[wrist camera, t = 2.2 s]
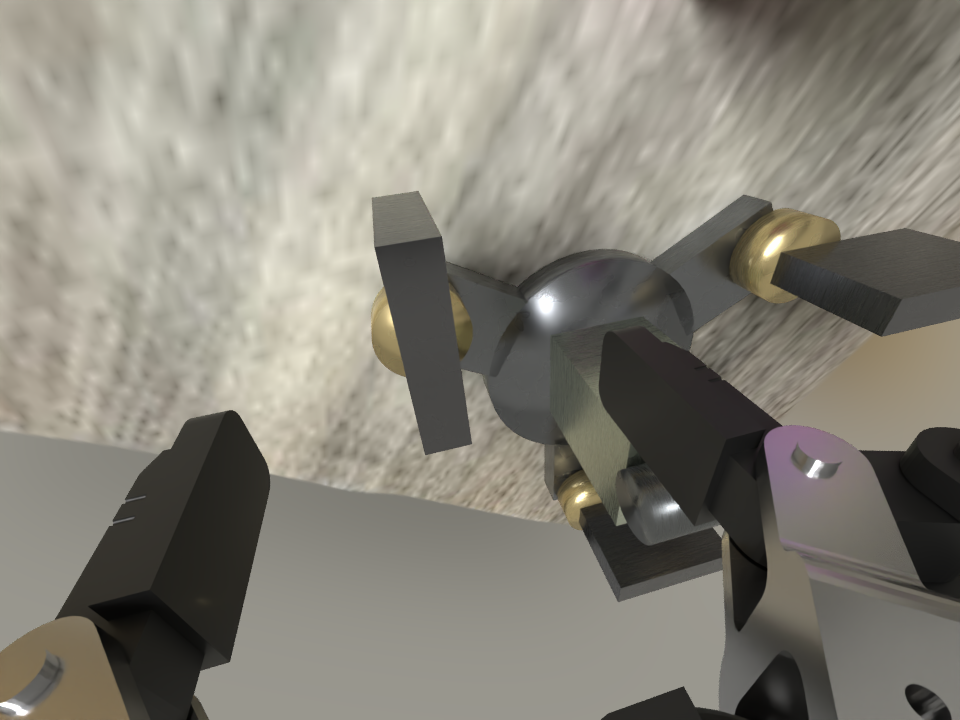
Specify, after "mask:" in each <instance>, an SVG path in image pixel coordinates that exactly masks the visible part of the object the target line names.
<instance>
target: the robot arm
mask: <svg viewBox="0 0 960 720" xmlns="http://www.w3.org/2000/svg"><path fill="white" fill-rule="evenodd" d="M599 395H600V399H601V402H602V404H603V406H604V408H605V410H606V411H607V413H608V414H609V415H610V417H611V418H612V419H613V421H614V422H615V423H616V424H617V426H618V427H619V428H620V430H621V431H622V432H623V434H624V435H625V436H626V438H627V439H628V440H629V441H630V443H631V444H632V445H633V447H634V448H635V449H636V451H637V452H638V453H639V455H640V456H641V457H642V459H643V460H644V461H645V462H646V464H647V465H648V466H649V468H650V469H651V470H652V472H653V473H654V474H655V476H656V477H657V478H658V479H659V481H660V482H661V483H662V485H663V486H664V487H665V489H666V490H667V491H668V493H669V494H670V495H671V496H672V498H673V499H674V500H675V502H676V503H677V504H678V506H679V507H680V508H681V510H682V511H683V512H684V513H685V515H686V516H687V517H688V519H689V520H690V521H691V523H692V524H693V525H694V526H698V525H701V524H705V523H708V522H711V521H715V520H717V521H718V522H719V523H720V525H721V526H722V527H723V528H724V529H725V530H724V532H723V535H722V564H723V587H724V609H725V633H726V635H725V636H726V637H725V638H726V639H725V650H724V655H723V659H722V664H721V670H720V678H719V711H718V710H711V709H706V708H700V707H698V708H697V707H695V706H694V705H693V703H692V701H691V699H690V697H689V695H688V694H687V692H686V690H685V688H684V687H681V688H678V689H675V690H672V691H669V692H667V693H664V694H661V695H658V696H656V697H653V698H650V699H647V700H645V701H642V702H639V703H636V704H634V705H631V706H628V707H625V708H622V709H620V710H617V711H614V712H611V713H609V714H607V715H606V716H605V717H604V718H602V719H601V720H960V429H956V428H947V427H935V428H929V429H926V430H923V431H922V432H920V433H919V434H918V436H917V437H916V438H915V440H914V441H913V442H912V444H911V446H910V447H909V448H908V449H907V451H862V450H857V449H856V448H855V447H854V446H852V445H851V444H849V443H848V442H846V441H845V440H843V439H841V438H839V437H837V436H835V435H833V434H830V433H828V432H825V431H821V430H819V429H815V428H811V427H805V426H796V425H789V426H782V425H781V424H779V423H778V422H777V421H776V420H774V419H773V418H772V417H771V416H769V415H768V414H767V413H766V412H764V411H763V410H762V409H761V408H759V407H758V406H757V405H756V404H754V403H753V402H752V401H751V400H749V399H748V398H747V397H746V396H744V395H743V394H742V393H740V392H739V391H738V390H737V389H735V388H734V387H733V386H732V385H730V384H729V383H728V382H727V381H725V380H723V381H722V380H721V377H720V376H719V375H718V374H717V373H715V372H714V371H713V370H712V369H710V368H708V369H707V367H706V365H705V364H704V363H703V362H702V361H700V360H699V359H698V358H696V357H695V356H694V355H693V354H691V353H690V352H689V351H687V350H684V349H682V348H680V347H677V346H675V345H673V344H671V343H668V342H661V341H660V340H659V339H658V338H657V337H655V336H654V335H653V334H652V333H651V332H649V331H648V330H647V329H646V328H645V327H643V326H640V325H638V326H633V327H628V328H623V329H619V330H614V331H609V332H607V333H606V334H605V336H604V339H603V346H602V355H601V365H600V375H599ZM269 490H270V475H269V469H268V466H267V463H266V461H265V459H264V457H263V456H262V454H261V452H260V450H259V449H258V447H257V445H256V443H255V442H254V440H253V438H252V436H251V435H250V433H249V431H248V429H247V428H246V426H245V424H244V422H243V421H242V419H241V417H240V416H239V415H238V413H236V412H235V411H233V410H229V411H224V412H220V413H215V414H210V415H205V416H201V417H196V418H191V419H189V420H187V421H186V422H185V424H184V426H183V427H182V429H181V431H180V433H179V435H178V437H177V439H176V441H175V442H174V444H173V446H172V448H171V449H169V450H164V451H163V452H162V453H161V454H160V455H159V456H158V457H157V458H156V459H155V460H153V461H152V462H151V464H150V465H148V467H146V469H144V470H143V471H142V472H141V473H140V475H139V476H138V478H137V480H136V481H135V483H134V485H133V487H132V488H131V490H130V491H129V493H128V495H127V497H126V498H125V500H126V503H125V504H122V505H121V507H120V509H119V510H118V512H117V514H116V516H115V517H114V519H113V526H109V528H108V529H107V531H106V533H105V535H104V536H103V538H102V540H101V541H100V543H99V545H98V547H97V548H96V550H95V552H94V553H93V555H92V557H91V559H90V560H89V562H88V564H87V565H86V567H85V569H84V571H83V572H82V574H81V576H80V578H79V579H78V581H77V583H76V585H75V586H74V588H73V590H72V591H71V593H70V595H69V596H68V598H67V600H66V602H65V603H64V605H63V607H62V609H61V610H60V612H59V614H58V615H57V617H56V618H55V620H53V621H51V622H48V623H46V624H43V625H41V626H39V627H37V628H35V629H33V630H32V631H30V632H28V633H26V634H25V635H23V636H22V637H20V638H19V639H17V640H16V641H14V642H13V643H12V644H10V645H9V646H7V647H6V648H5V649H3V650H2V651H1V652H0V720H209V718H208V716H207V714H206V713H205V710H204V708H203V706H202V704H201V702H200V701H199V699H198V698H197V697H196V696H195V695H194V691H195V688H196V684H197V681H198V677H199V673H200V671H201V670H205V669H208V668H211V667H215V666H218V665H221V664H225V663H228V662H230V659H231V655H232V651H233V647H234V642H235V638H236V634H237V629H238V625H239V620H240V616H241V612H242V607H243V603H244V599H245V594H246V590H247V586H248V582H249V577H250V573H251V569H252V564H253V560H254V556H255V551H256V547H257V543H258V538H259V534H260V529H261V525H262V521H263V517H264V512H265V508H266V504H267V499H268V495H269Z"/></svg>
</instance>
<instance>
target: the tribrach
mask: <svg viewBox="0 0 960 720" xmlns="http://www.w3.org/2000/svg"><path fill="white" fill-rule="evenodd" d="M771 211H773V208H772V203H771V202H769V201H765V200H762V199H758V198H755V197H751V196H747V195H743V196H742V197H740V198H739V199H737V200H736V201H735V202H733V203H732V204H730V205H729V206H728V207H726V208H725V209H724V210H722V211H721V212H719V213H718V214H717V215H715V216H714V217H712V218H711V219H710V220H708V221H707V222H706V223H704V224H703V225H701V226H700V227H699V228H697V229H696V230H694V231H693V232H692V233H690V234H689V235H688V236H686V237H685V238H683V239H682V240H681V241H679V242H678V243H676V244H675V245H674V246H672V247H671V248H670V249H668V250H667V251H665V252H664V253H663V254H661V255H660V256H658V257H657V258H656V259H654V260H653V261H652V262H649V261H647V260H645V259H643V258H642V257H640V256H638V255H635V254H632V253H629V252H625V251H620V250H613V249H598V250H589V251H584V252H579V253H575V254H572V255H569V256H566V257H564V258H561V259H558V260H556V261H554V262H552V263H551V264H549V265H547V266H545V267H543V268H542V269H540V270H539V271H537V272H536V273H534V274H533V275H531V276H530V277H529V278H527V279H526V280H525V281H524V282H523V283H522V284H520V285H519V286H518V287H515V286H513V285H510V284H507V283H504V282H501V281H499V280H496V279H493V278H490V277H488V276H485V275H482V274H479V273H476V272H474V271H471V270H468V269H465V268H463V267H460V266H457V265H454V264H451V263H449V262H446V261H445V262H446V269H447V276H448V282H449V283H450V284H451V285H452V286H453V287H454V288H455V289H456V290H457V292H458V293H459V295H460V297H461V299H462V301H463V303H464V306H465V308H466V310H467V312H468V314H469V317H470V319H471V322H472V327H473V337H472V342H471V345H470V348H469V350H468V352H467V354H466V355H465V357H464V358H463V359H462V360H461V361H460V365H461V369H464V370H468V371H472V372H476V373H480V374H483V379H484V383H485V386H486V388H487V391H488V393H489V396H490V398H491V401H492V403H493V406H494V408H495V410H496V412H497V414H498V415H499V417H500V419H501V420H502V421H503V422H504V423H505V425H506V426H507V427H509V428H510V429H511V430H512V431H513V432H515V433H516V434H518V435H520V436H521V437H523V438H526V439H528V440H531V441H534V442H538V443H542V444H545V483H546V485H547V488H548V490H549V492H550V494H551V496H552V498H553V500H557V499H558V498H557V494H558V490H559V488H560V486H561V484H562V483H563V482H564V481H565V480H566V479H567V478H568V477H570V476H571V475H572V474H574V473H576V472H578V471H580V470H582V469H584V471H585V473H586V475H587V476H588V478H589V480H590V482H591V483H592V485H593V487H594V489H595V490H596V492H597V494H598V496H599V497H600V499H601V501H602V503H603V504H604V506H605V508H606V510H607V511H608V513H609V515H610V517H611V518H612V520H613V522H614V524H615V525H616V526H618V525H622V524H625V523H627V524H628V526H629V527H630V529H631V530H632V532H633V533H634V535H635V536H636V537H637V538H638V539H639V540H640V541H641V542H642V543H644V544H645V545H653V544H656V543H660V542H663V541H667V540H670V539H674V538H677V537H680V536H684V535H687V534H691V533H694V532H698V531H701V530H704V529H708V528H711V527H714V526H718V525H720V523H719V522H718V521H717V520H715V521H711V522H708V523H705V524H701V525H698V526H694V525H693V524H692V523H691V521H690V520H689V519H688V517H687V516H686V515H685V513H684V512H683V511H682V510H681V508H680V507H679V506H678V504H677V503H676V502H675V500H674V499H673V498H672V496H671V495H670V494H669V493H668V491H667V490H666V489H665V487H664V486H663V485H662V483H661V482H660V481H659V479H658V478H657V477H656V476H655V474H654V473H653V472H652V470H651V469H650V468H649V466H648V465H647V464H646V462H645V461H644V460H643V459H642V457H641V456H640V455H639V453H638V452H637V451H636V449H635V448H634V447H633V445H632V444H631V443H630V441H629V440H628V439H627V438H626V436H625V435H624V434H623V432H622V431H621V430H620V428H619V427H618V426H617V424H616V423H615V422H614V421H613V419H612V418H611V417H610V415H609V414H608V413H607V411H606V410H605V408H604V406H603V404H602V402H601V399H600V395H599V375H600V365H601V355H602V346H603V339H604V336H605V334H606V333H607V332H609V331H614V330H619V329H623V328H628V327H633V326H638V325H640V326H643V327H645V328H646V329H647V330H648V331H649V332H651V333H652V334H653V335H654V336H655V337H657V338H658V339H659V340H660V341H661V342H668V343H671V344H673V345H675V346H677V347H680V348H682V349H684V350H687V351H689V350H690V347H691V343H692V337H693V332H694V331H695V330H697V329H698V328H700V327H701V326H703V325H704V324H706V323H707V322H709V321H710V320H712V319H713V318H715V317H716V316H717V315H719V314H720V313H722V312H723V311H725V310H726V309H728V308H729V307H731V306H732V305H734V304H735V303H737V302H738V301H740V300H741V299H743V298H744V297H746V296H747V295H749V294H750V293H751V292H749V291H747V290H745V289H743V288H742V287H740V286H738V285H736V284H735V283H734V281H733V280H732V278H731V275H730V260H731V256H732V253H733V251H734V248H735V246H736V244H737V243H738V241H739V239H740V238H741V236H742V235H743V234H744V232H745V231H746V230H747V229H748V228H749V227H750V226H751V225H752V224H753V223H754V222H755V221H757V220H758V219H759V218H761V217H762V216H764V215H765V214H767V213H769V212H771Z"/></svg>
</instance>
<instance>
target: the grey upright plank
mask: <svg viewBox="0 0 960 720" xmlns="http://www.w3.org/2000/svg"><path fill="white" fill-rule="evenodd" d="M372 211H373V229H374V247H375V251H376V255H377V259H378V264H379V268H380V272H381V276H382V280H383V284H384V287H383V288H382V289H381V290H380V292H379V293H378V295H377V296H376V298H375V300H374V303H373V306H372V312H371V327H372V344H373V348H374V351H375V353H376V355H377V357H378V359H379V360H380V361H381V363H382V364H383V365H384V366H385V367H387V368H388V369H389V370H391V371H393V372H394V373H396V374H399V375H401V376H404V377H406V378H407V382H408V386H409V391H410V395H411V399H412V403H413V407H414V411H415V415H416V419H417V423H418V427H419V432H420V436H421V440H422V444H423V448H424V452H425V455H428V454H432V453H436V452H441V451H445V450H449V449H453V448H458V447H462V446H466V445H470V444H472V441H471V434H470V427H469V421H468V414H467V407H466V400H465V393H464V386H463V379H462V372H461V365H460V361H461V360H462V359H463V358H464V357H465V355H466V354H467V352H468V350H469V348H470V345H471V342H472V337H473V327H472V322H471V319H470V317H469V314H468V312H467V310H466V308H465V306H464V303H463V301H462V299H461V297H460V295H459V293H458V292H457V290H456V289H455V288H454V287H453V286H452V285H451V284H450V283H449V282H448V276H447V269H446V262H445V255H444V248H443V241H442V236H441V234H440V232H439V230H438V228H437V226H436V224H435V222H434V220H433V218H432V216H431V214H430V213H429V211H428V209H427V207H426V205H425V203H424V201H423V199H422V197H421V195H420V193H419V191H416V192H409V193H402V194H395V195H388V196H382V197H375V198H372Z"/></svg>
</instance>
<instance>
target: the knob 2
mask: <svg viewBox="0 0 960 720" xmlns="http://www.w3.org/2000/svg"><path fill="white" fill-rule="evenodd" d="M730 275H731V278H732V280H733V281H734V283H735V284H736V285H738V286H740V287H742V288H743V289H745V290H747V291H749V292H751V293H753V294H755V295H757V296H759V297H761V298H762V299H764V300H766V301H768V302H771V303H785V302H789V301H792V300H794V299H796V298H798V297H800V298H802V299H804V300H806V301H808V302H810V303H812V304H814V305H816V306H818V307H820V308H823V309H825V310H827V311H829V312H831V313H833V314H835V315H837V316H839V317H841V318H843V319H846V320H848V321H850V322H852V323H854V324H856V325H858V326H860V327H862V328H864V329H866V330H869V331H871V332H873V333H875V334H877V335H879V336H887V335H890V334H894V333H899V332H904V331H908V330H912V329H916V328H921V327H925V326H929V325H934V324H938V323H942V322H946V321H951V320H955V319H959V318H960V242H958V241H954V240H950V239H946V238H942V237H938V236H934V235H930V234H926V233H923V232H919V231H915V230H911V229H907V228H904V229H898V230H893V231H888V232H883V233H877V234H872V235H867V236H862V237H857V238H851V239H846V240H841V241H840V231H839V228H838V226H837V225H836V224H835V223H834V222H833V221H831V220H829V219H825V218H822V217H818V216H815V215H811V214H808V213H804V212H800V211H797V210H793V209H789V208H783V209H777V210H774V211H771V212H769V213H767V214H765V215H764V216H762V217H761V218H759V219H758V220H757V221H755V222H754V223H753V224H752V225H751V226H750V227H749V228H748V229H747V230H746V231H745V232H744V234H743V235H742V236H741V238H740V239H739V241H738V243H737V244H736V246H735V248H734V251H733V253H732V256H731V260H730Z"/></svg>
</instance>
